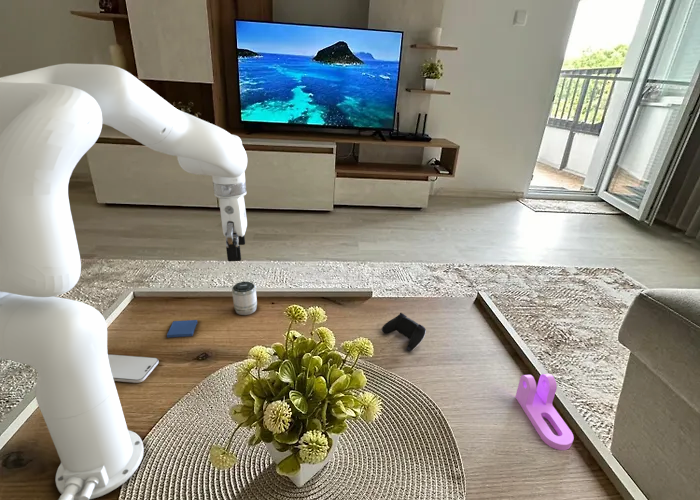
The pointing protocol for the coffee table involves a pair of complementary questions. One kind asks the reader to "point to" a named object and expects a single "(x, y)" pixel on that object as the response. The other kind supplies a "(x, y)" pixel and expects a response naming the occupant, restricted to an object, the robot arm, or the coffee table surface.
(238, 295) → the camera lens
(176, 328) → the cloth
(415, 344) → the gaming controller
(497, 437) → the coffee table surface
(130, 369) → the smartphone
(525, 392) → the bracket
